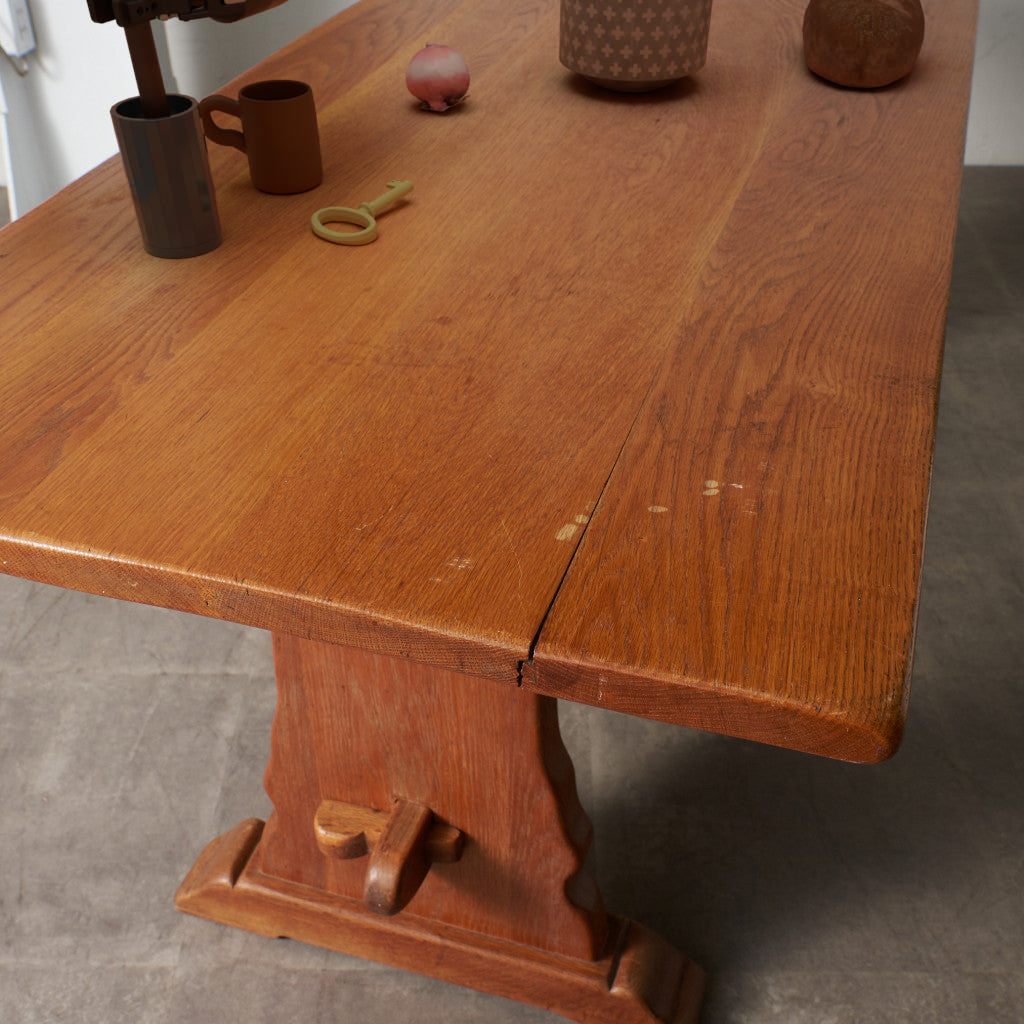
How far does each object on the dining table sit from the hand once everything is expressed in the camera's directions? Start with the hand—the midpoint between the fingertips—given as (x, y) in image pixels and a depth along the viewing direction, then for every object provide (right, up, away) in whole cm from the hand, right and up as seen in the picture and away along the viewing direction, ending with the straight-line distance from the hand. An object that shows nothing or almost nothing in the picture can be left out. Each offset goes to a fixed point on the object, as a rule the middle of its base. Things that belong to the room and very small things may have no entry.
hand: (105, 11), depth 81 cm
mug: (+7, -5, +26) cm, 28 cm away
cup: (+1, -14, +15) cm, 21 cm away
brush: (+1, -11, +12) cm, 16 cm away
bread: (+80, +23, +60) cm, 103 cm away
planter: (+48, +16, +53) cm, 73 cm away
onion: (+23, +10, +45) cm, 52 cm away
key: (+18, -12, +19) cm, 29 cm away
